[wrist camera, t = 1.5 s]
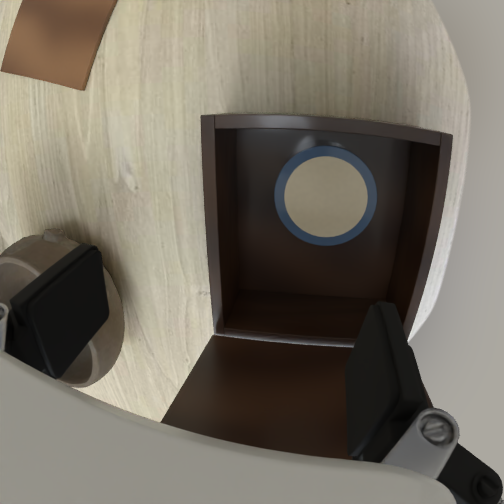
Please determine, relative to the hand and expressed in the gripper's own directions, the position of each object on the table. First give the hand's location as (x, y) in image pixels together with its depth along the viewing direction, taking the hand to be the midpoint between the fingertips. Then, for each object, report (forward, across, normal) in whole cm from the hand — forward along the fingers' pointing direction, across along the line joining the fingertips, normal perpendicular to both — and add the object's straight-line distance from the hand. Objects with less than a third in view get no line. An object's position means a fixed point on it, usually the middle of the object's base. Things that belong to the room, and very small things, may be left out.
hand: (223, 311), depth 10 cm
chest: (+18, -4, +2) cm, 18 cm away
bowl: (+18, +22, +16) cm, 32 cm away
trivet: (+18, +25, -17) cm, 35 cm away
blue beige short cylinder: (+17, -4, -1) cm, 17 cm away
